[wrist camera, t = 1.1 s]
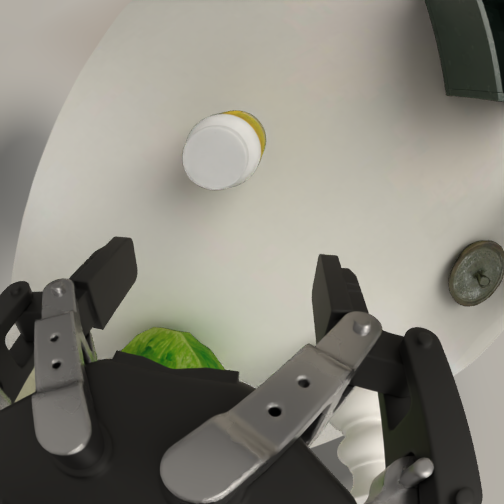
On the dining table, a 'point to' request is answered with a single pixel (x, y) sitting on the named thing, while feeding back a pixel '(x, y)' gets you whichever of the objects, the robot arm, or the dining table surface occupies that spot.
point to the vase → (361, 440)
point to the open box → (470, 46)
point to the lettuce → (172, 349)
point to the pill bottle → (224, 150)
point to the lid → (477, 273)
